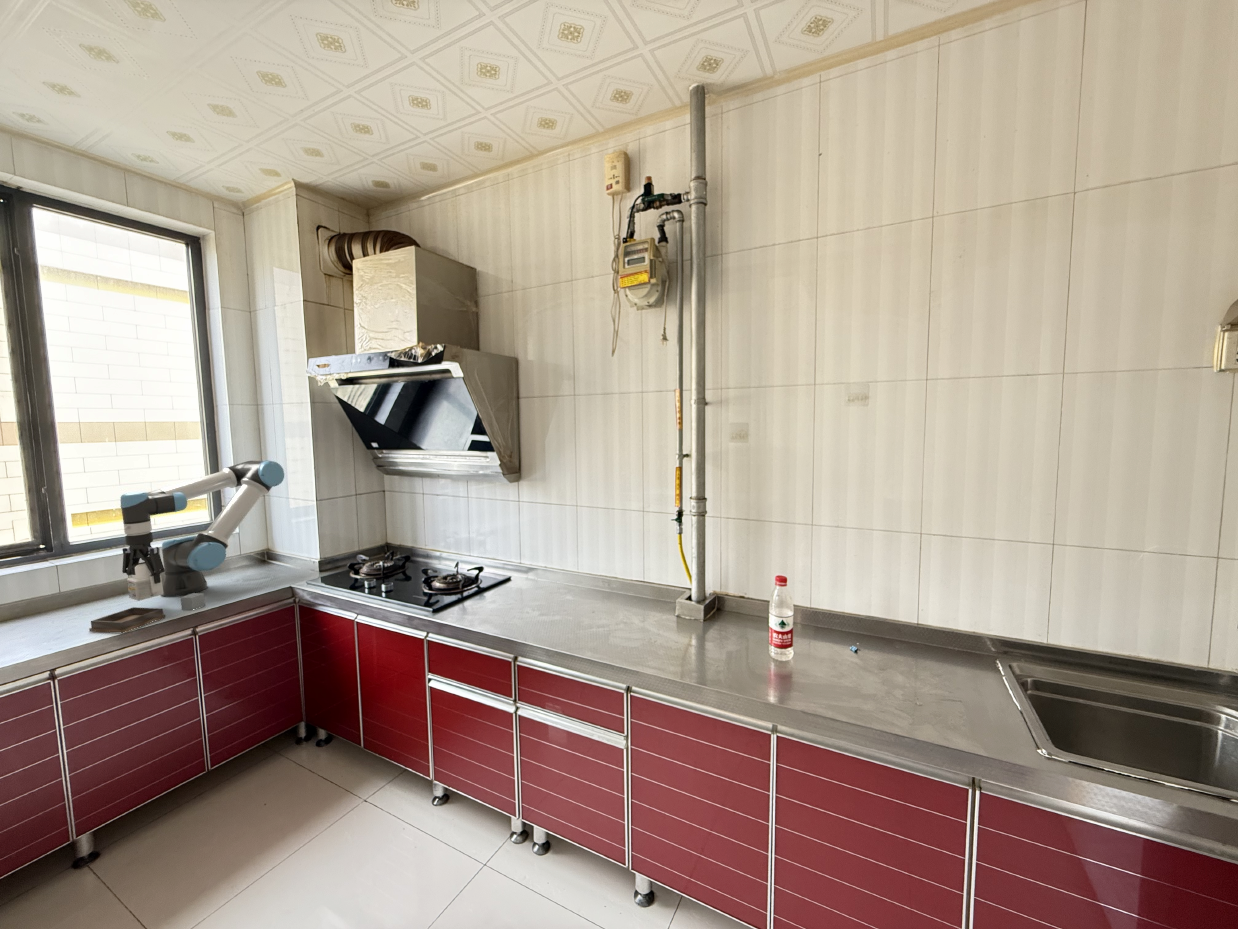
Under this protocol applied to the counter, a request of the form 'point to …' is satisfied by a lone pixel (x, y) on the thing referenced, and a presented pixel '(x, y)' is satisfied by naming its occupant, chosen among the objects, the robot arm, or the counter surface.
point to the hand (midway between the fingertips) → (146, 591)
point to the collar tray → (126, 619)
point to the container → (141, 583)
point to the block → (192, 601)
